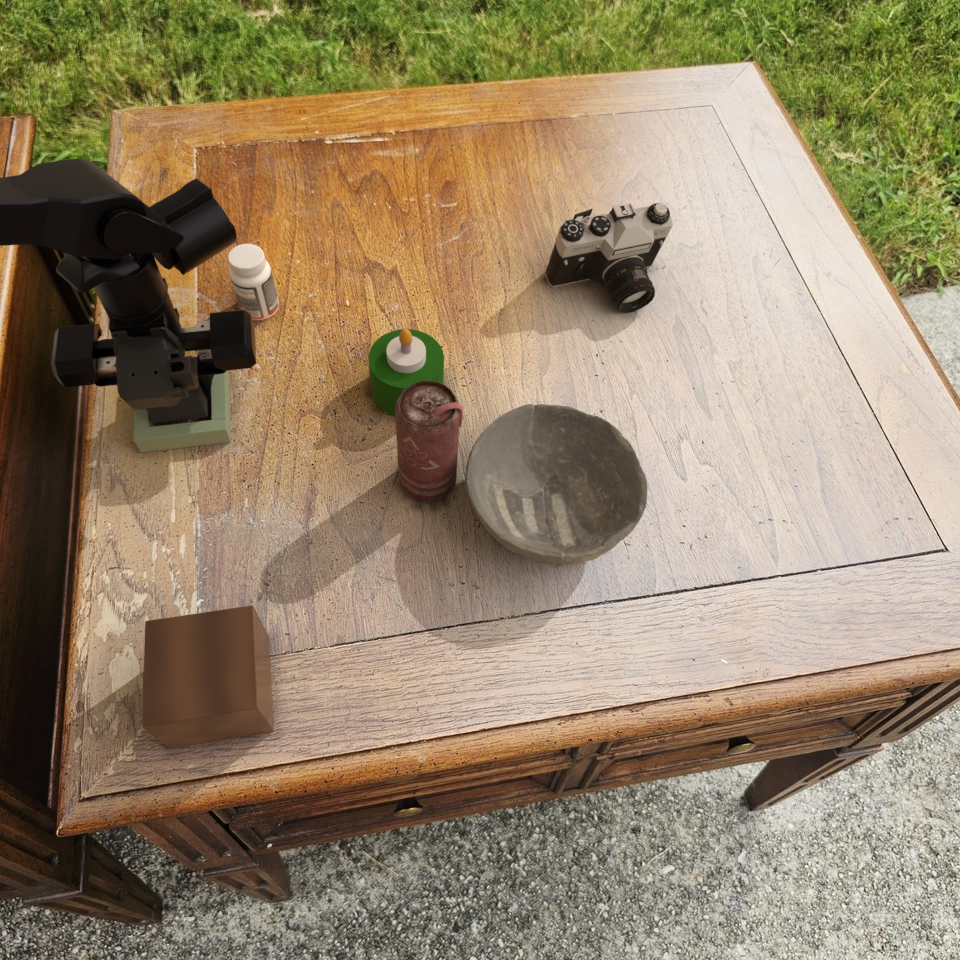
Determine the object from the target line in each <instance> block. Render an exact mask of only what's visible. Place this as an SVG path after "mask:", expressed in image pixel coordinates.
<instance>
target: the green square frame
mask: <svg viewBox="0 0 960 960" xmlns="http://www.w3.org/2000/svg"><path fill="white" fill-rule="evenodd" d="M230 393H231V392H230V373H229V371H226V372H225V373H223V374H217V375H214V377H213V380H212V386H211V393H210V398H211V399H210V404H211V405H210V407H211V409H210V410H211V411H210V412H211V414H210V415H211V419H208V420H200V421H199V420H198V421H191V422H189V421H188V422H181V423H180V422H179V423H173V424H163V425H156V423H153V421H152V419H151V417H150V415H149V413H148V411H147V410H146V409H142V410H137V409H134V408H133V410H134V411H133V412H134V413H133V435H132V436H133V437H132V440H133V442H134V445H135V446H136V447H137V449H138V452H139V453H140V454H141V453H150V452H158V451H159V452H160V451H167V450H175V449H184V448H193V447H201V446H202V447H203V446H209V445H210V446H211V445H220V444H227V443H231V442H232V428H231V426H232V425H231V394H230Z"/></svg>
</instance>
